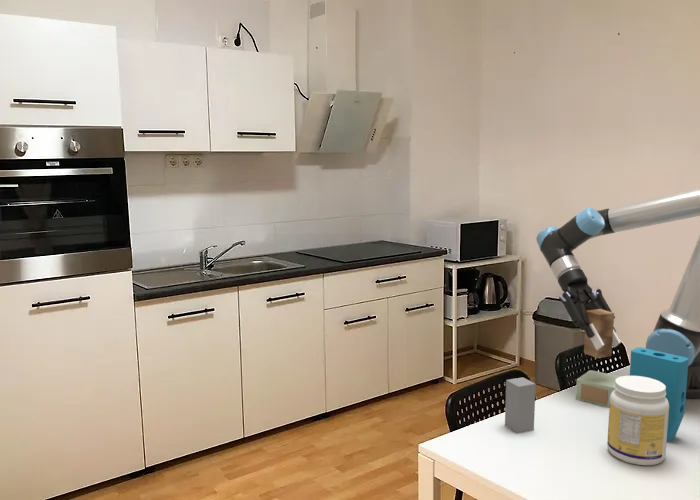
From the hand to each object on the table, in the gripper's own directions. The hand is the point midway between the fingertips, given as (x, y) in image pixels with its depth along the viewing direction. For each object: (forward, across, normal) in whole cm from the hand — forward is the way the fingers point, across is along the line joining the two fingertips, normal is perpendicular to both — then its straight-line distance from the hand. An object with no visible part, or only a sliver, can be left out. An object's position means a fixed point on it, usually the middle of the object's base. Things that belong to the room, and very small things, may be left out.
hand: (608, 345), depth 168 cm
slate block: (+14, +30, -10) cm, 35 cm away
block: (+25, +2, +1) cm, 25 cm away
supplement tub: (+29, +15, +6) cm, 33 cm away
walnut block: (0, 0, -5) cm, 5 cm away
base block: (+9, -2, -15) cm, 18 cm away
